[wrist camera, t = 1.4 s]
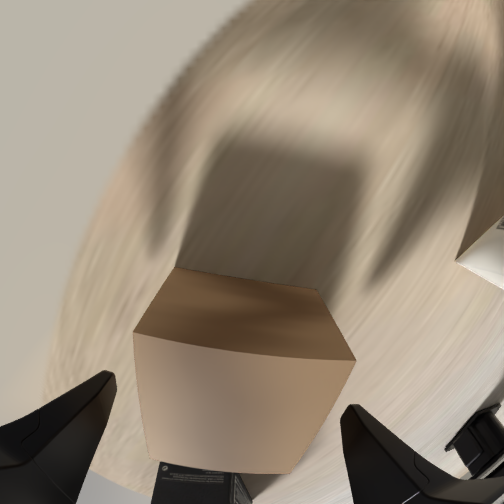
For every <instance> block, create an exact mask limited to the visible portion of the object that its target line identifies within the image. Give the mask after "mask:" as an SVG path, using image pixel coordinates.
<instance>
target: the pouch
mask: <svg viewBox="0 0 504 504" xmlns="http://www.w3.org/2000/svg"><path fill="white" fill-rule="evenodd" d="M455 262H456V263H457V264H459V265H461V266H463V267H465V268H466V269H468V270H470V271H472V272H473V273H475V274H477V275H479V276H480V277H482V278H484V279H486V280H487V281H489V282H491V283H493V284H494V285H496V286H498V287H500V288H502V289H503V290H504V216H502V217H501V218H500V219H499V220H498V221H497V222H496V223H495V224H494V225H493V226H492V227H491V228H489V229H488V230H487V231H486V232H485V233H484V234H483V235H482V236H481V237H480V238H479V239H477V240H476V241H475V242H474V243H473V244H472V245H471V246H470V247H469V248H468V249H467V250H466V251H465V252H464V253H463V254H462V255H461V256H460V257H458V258H457V259H456V260H455Z"/></svg>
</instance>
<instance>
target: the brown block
mask: <svg viewBox="0 0 504 504" xmlns="http://www.w3.org/2000/svg"><path fill="white" fill-rule="evenodd" d="M133 344H134V358H135V369H136V379H137V387H138V395H139V403H140V409H141V416H142V422H143V428H144V433H145V438H146V443H147V448H148V453H149V457H150V459H153V460H157V461H162V462H166V463H171V464H176V465H181V466H187V467H193V468H199V469H206V470H214V471H224V472H235V473H253V474H290V472H291V471H292V470H293V468H294V467H295V466H296V464H297V463H298V461H299V460H300V458H301V457H302V456H303V454H304V453H305V451H306V450H307V448H308V447H309V445H310V444H311V442H312V440H313V439H314V437H315V436H316V434H317V433H318V431H319V429H320V428H321V426H322V424H323V423H324V421H325V419H326V418H327V416H328V414H329V413H330V411H331V409H332V407H333V406H334V404H335V402H336V400H337V398H338V396H339V395H340V393H341V391H342V389H343V387H344V385H345V383H346V381H347V379H348V377H349V375H350V373H351V371H352V369H353V367H354V365H355V363H356V359H355V357H354V355H353V353H352V351H351V350H350V348H349V346H348V344H347V342H346V341H345V339H344V337H343V335H342V333H341V332H340V330H339V328H338V326H337V325H336V323H335V321H334V319H333V318H332V316H331V314H330V312H329V311H328V309H327V307H326V305H325V304H324V302H323V300H322V298H321V297H320V295H319V293H318V292H317V290H316V289H308V288H301V287H294V286H288V285H281V284H274V283H267V282H261V281H255V280H248V279H242V278H236V277H230V276H223V275H217V274H211V273H206V272H200V271H194V270H188V269H183V268H177V267H174V269H173V270H172V272H171V273H170V275H169V276H168V278H167V279H166V281H165V282H164V284H163V285H162V287H161V288H160V290H159V291H158V293H157V294H156V296H155V298H154V299H153V301H152V302H151V304H150V305H149V307H148V308H147V310H146V312H145V313H144V315H143V316H142V318H141V320H140V321H139V323H138V324H137V326H136V328H135V329H134V331H133Z"/></svg>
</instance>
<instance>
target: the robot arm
mask: <svg viewBox="0 0 504 504" xmlns="http://www.w3.org/2000/svg"><path fill="white" fill-rule="evenodd" d="M116 392H117V385H116V379H115V374H114V373H113V372H110V371H107V370H103V371H101V372H100V373H98V374H96V375H95V376H93V377H92V378H90V379H88V380H87V381H85V382H83V383H82V384H80V385H78V386H76V387H75V388H73V389H71V390H70V391H68V392H66V393H65V394H63V395H61V396H60V397H58V398H56V399H54V400H53V401H51V402H49V403H48V404H46V405H44V406H42V407H41V408H39V409H37V410H35V411H34V412H32V413H30V414H28V415H26V416H24V417H22V418H20V419H18V420H15V421H13V422H11V423H8V424H6V425H3V426H1V427H0V504H76V502H77V499H78V496H79V493H80V490H81V488H82V485H83V482H84V479H85V477H86V474H87V472H88V469H89V467H90V464H91V462H92V459H93V457H94V454H95V452H96V449H97V447H98V444H99V442H100V440H101V437H102V435H103V432H104V430H105V428H106V425H107V422H108V419H109V416H110V412H111V409H112V405H113V402H114V399H115V396H116ZM500 407H501V404H500V403H499V404H497V405H494V406H492V407H490V408H487V409H485V410H483V411H480V412H478V413H476V414H475V415H474V416H473V417H472V419H471V420H470V421H469V422H468V424H467V425H466V426H465V427H464V428H463V429H462V431H461V432H460V433H459V434H458V435H457V436H456V437H455V438H454V439H453V441H452V442H451V443H450V444H449V445H448V446H447V447H446V448H445V449H444V450H445V451H446V452H447V451H450V450H452V449H454V448H455V449H456V451H457V453H458V455H459V456H460V458H461V460H462V461H463V463H464V465H465V466H466V467H467V468H468V470H469V471H470V473H471V475H472V477H471V478H470V479H469V480H462V479H458V478H455V477H453V476H451V475H450V474H448V473H446V472H445V471H443V470H441V469H440V468H438V467H436V466H435V465H433V464H432V463H430V462H429V461H427V460H426V459H425V458H423V457H422V456H421V455H419V454H418V453H417V452H416V451H414V450H413V449H412V448H410V447H409V446H408V445H407V444H406V443H404V442H403V441H402V440H401V439H399V438H398V437H397V436H396V435H395V434H393V433H392V432H391V431H390V430H389V429H387V428H386V427H385V426H384V425H383V424H381V423H380V422H379V421H378V420H377V419H375V418H374V417H373V416H372V415H371V414H370V413H368V412H367V411H366V410H365V409H364V408H363V407H361V406H360V405H359V404H350V405H348V407H347V408H346V410H345V411H344V413H343V414H342V416H341V419H340V426H341V435H342V445H343V453H344V458H345V463H346V467H347V472H348V477H349V482H350V487H351V492H352V497H353V502H354V504H504V462H502V463H501V464H500V465H499V466H498V467H497V468H496V469H495V470H493V472H491V473H490V474H489V475H488V476H486V477H485V478H484V479H480V478H481V477H482V476H484V475H485V474H486V473H487V472H488V471H489V470H491V469H492V468H493V467H494V466H495V465H496V464H497V463H498V462H499V461H501V460H502V459H503V458H504V426H503V425H502V424H501V422H500V421H499V420H498V419H497V417H496V416H495V413H496V412H497V411H498V410H499V408H500ZM473 475H474V476H473Z"/></svg>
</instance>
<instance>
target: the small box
mask: <svg viewBox="0 0 504 504" xmlns="http://www.w3.org/2000/svg"><path fill="white" fill-rule="evenodd" d="M151 504H252V500H251V497H250V496H249V494H248V492H247V490H246V488H245V485H244V483H243V481H242V479H241V477H240V475H239V473H235V472H224V471H214V470H206V469H199V468H193V467H187V466H181V465H176V464H171V463H166V462H160V464H159V468H158V473H157V477H156V482H155V486H154V491H153V496H152V500H151Z"/></svg>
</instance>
